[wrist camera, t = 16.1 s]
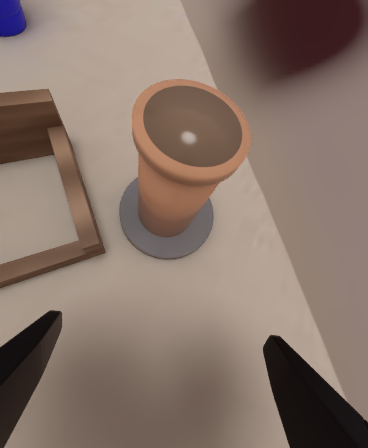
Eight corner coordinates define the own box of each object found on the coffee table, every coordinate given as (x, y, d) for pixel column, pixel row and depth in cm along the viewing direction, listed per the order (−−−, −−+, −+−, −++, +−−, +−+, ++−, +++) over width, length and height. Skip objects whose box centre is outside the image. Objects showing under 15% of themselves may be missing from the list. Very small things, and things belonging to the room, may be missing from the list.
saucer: (195, 273, 24) (198, 272, 23) (103, 237, 23) (101, 234, 22) (219, 195, 28) (223, 190, 27) (142, 162, 27) (143, 156, 26)
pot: (160, 253, 22) (189, 200, 10) (120, 203, 23) (105, 101, 11) (207, 217, 25) (273, 141, 13) (170, 173, 26) (199, 66, 14)
